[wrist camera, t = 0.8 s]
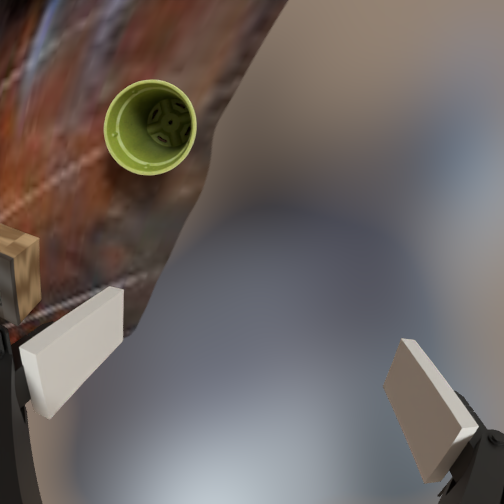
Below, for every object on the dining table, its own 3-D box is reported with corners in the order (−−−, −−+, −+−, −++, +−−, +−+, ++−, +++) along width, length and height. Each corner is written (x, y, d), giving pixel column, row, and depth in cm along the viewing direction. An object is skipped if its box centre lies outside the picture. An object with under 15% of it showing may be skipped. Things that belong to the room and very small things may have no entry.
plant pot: (188, 174, 38) (170, 191, 30) (123, 142, 36) (90, 152, 28) (224, 105, 34) (214, 103, 27) (155, 73, 33) (127, 66, 25)
